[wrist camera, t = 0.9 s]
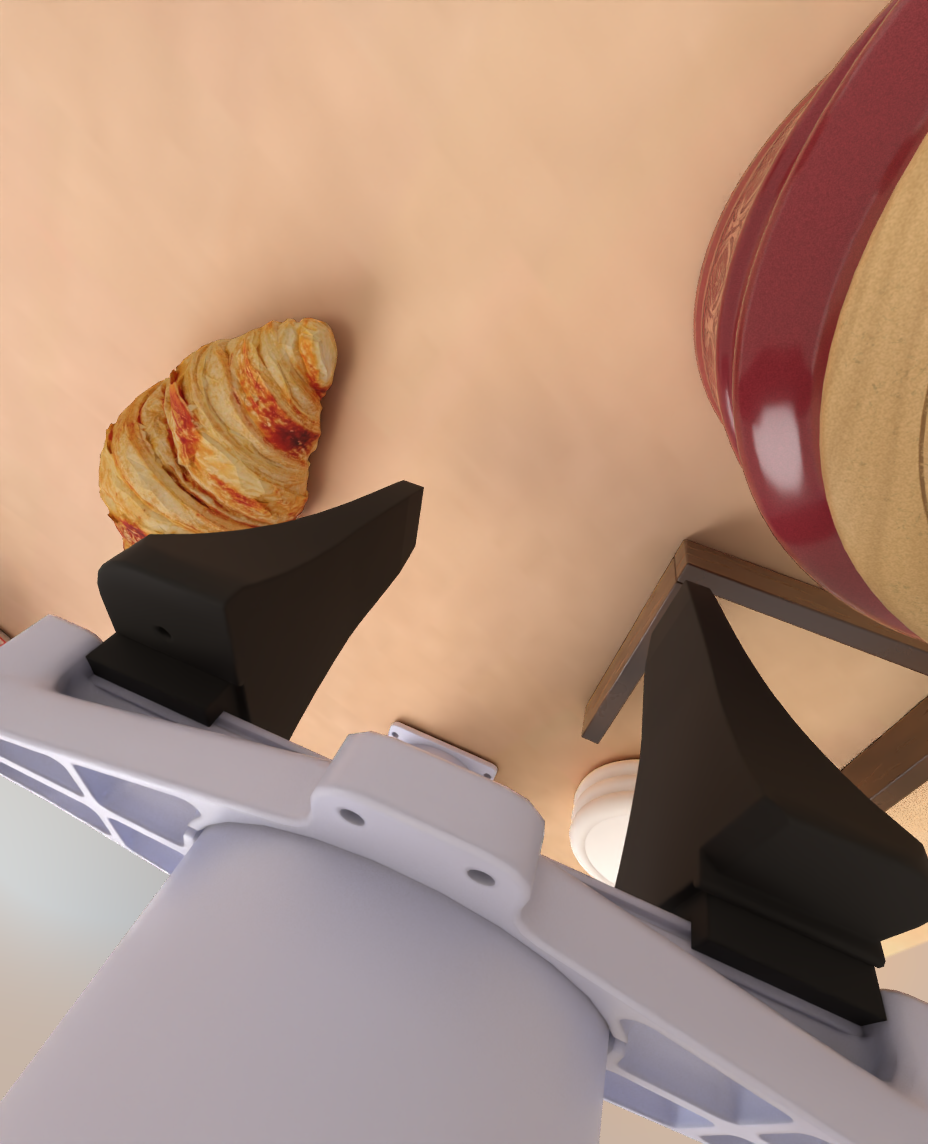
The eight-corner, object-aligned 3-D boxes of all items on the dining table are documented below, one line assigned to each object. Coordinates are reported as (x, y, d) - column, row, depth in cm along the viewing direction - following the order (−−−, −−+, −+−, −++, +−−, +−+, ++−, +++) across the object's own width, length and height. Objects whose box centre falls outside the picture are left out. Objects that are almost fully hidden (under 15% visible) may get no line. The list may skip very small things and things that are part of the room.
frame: (825, 806, 28) (838, 847, 26) (585, 706, 30) (580, 737, 28) (1008, 656, 21) (1044, 695, 19) (684, 537, 23) (687, 563, 21)
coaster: (553, 816, 36) (545, 864, 33) (612, 730, 30) (608, 779, 27) (690, 879, 34) (694, 934, 32) (779, 802, 29) (793, 861, 26)
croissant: (336, 270, 25) (166, 183, 19) (426, 429, 23) (269, 394, 16) (177, 514, 36) (37, 514, 30) (227, 638, 34) (86, 667, 27)
